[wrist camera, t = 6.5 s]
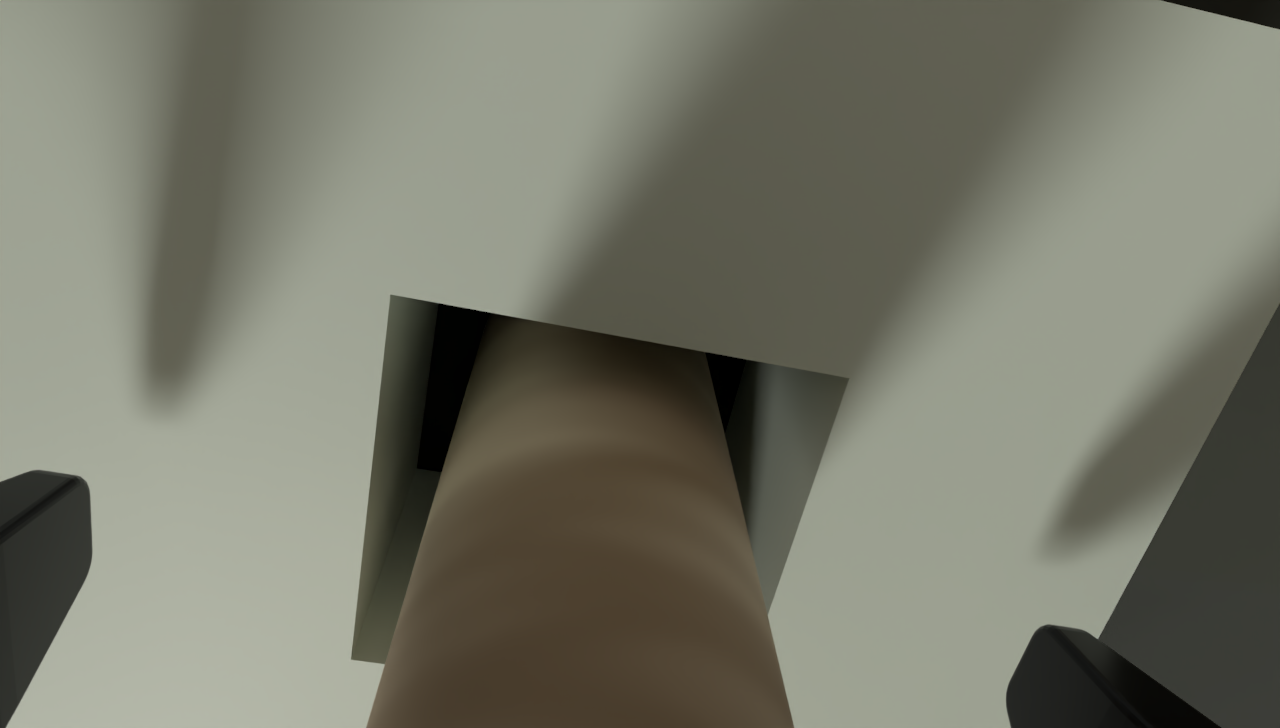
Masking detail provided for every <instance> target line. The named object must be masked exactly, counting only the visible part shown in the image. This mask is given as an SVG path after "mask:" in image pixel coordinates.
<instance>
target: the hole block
mask: <svg viewBox="0 0 1280 728" xmlns="http://www.w3.org/2000/svg"><path fill="white" fill-rule="evenodd" d="M439 303H440V304H446V305H451V306H457V307H462V308H468V309H473V310H478V311H484V312H489V313H495V314H500V315H506V316H511V317H517V318H522V319H528V320H533V321H539V322H544V323H550V324H555V325H561V326H566V327H572V328H577V329H583V330H588V331H593V332H599V333H604V334H610V335H615V336H621V337H626V338H632V339H637V340H643V341H648V342H654V343H659V344H665V345H670V346H676V347H681V348H687V349H692V350H698V351H703V352H708V353H714V354H719V355H725V356H730V357H736V358H741V359H747V360H746V363H745V366H744V370H743V373H742V377H741V380H740V384H739V387H738V391H737V394H736V398H735V401H734V404H733V408H732V411H731V415H730V418H729V422H728V425H727V429H726V432H725V438H726V442H727V446H728V451H729V455H730V459H731V463H732V467H733V472H734V476H735V480H736V484H737V488H738V493H739V497H740V501H741V505H742V510H743V514H744V518H745V522H746V526H747V531H748V535H749V539H750V543H751V547H752V552H753V556H754V560H755V564H756V569H757V573H758V577H759V581H760V585H761V590H762V594H763V598H764V602H765V606H766V611H767V615H768V619H769V623H770V628H771V632H772V636H773V640H774V644H775V649H776V653H777V657H778V661H779V665H780V670H781V674H782V678H783V682H784V687H785V691H786V695H787V699H788V703H789V708H790V712H791V716H792V720H793V725H794V728H1011V726H1010V722H1009V718H1008V714H1007V709H1006V692H1007V687H1008V684H1009V681H1010V679H1011V677H1012V675H1013V673H1014V671H1015V669H1016V667H1017V665H1018V663H1019V661H1020V659H1021V657H1022V655H1023V653H1024V651H1025V649H1026V647H1027V645H1028V643H1029V641H1030V639H1031V637H1032V635H1033V634H1034V632H1035V631H1036V630H1037V629H1038V628H1039V627H1041V626H1043V625H1047V624H1052V625H1058V626H1065V627H1072V628H1078V629H1082V630H1084V631H1087V632H1088V633H1090V634H1091V635H1093V636H1094V637H1095V638H1097V639H1098V638H1099V636H1100V634H1101V632H1102V630H1103V629H1104V627H1105V625H1106V623H1107V621H1108V619H1109V618H1110V616H1111V614H1112V612H1113V610H1114V608H1115V606H1116V605H1117V603H1118V601H1119V599H1120V597H1121V595H1122V593H1123V592H1124V590H1125V588H1126V586H1127V584H1128V582H1129V581H1130V579H1131V577H1132V575H1133V573H1134V571H1135V569H1136V568H1137V566H1138V564H1139V562H1140V560H1141V558H1142V557H1143V555H1144V553H1145V551H1146V549H1147V547H1148V545H1149V544H1150V542H1151V540H1152V538H1153V536H1154V534H1155V532H1156V531H1157V529H1158V527H1159V525H1160V523H1161V521H1162V520H1163V518H1164V516H1165V514H1166V512H1167V510H1168V508H1169V507H1170V505H1171V503H1172V501H1173V499H1174V497H1175V495H1176V494H1177V492H1178V490H1179V488H1180V486H1181V484H1182V483H1183V481H1184V479H1185V477H1186V475H1187V473H1188V471H1189V470H1190V468H1191V466H1192V464H1193V462H1194V460H1195V459H1196V457H1197V455H1198V453H1199V451H1200V449H1201V447H1202V446H1203V444H1204V442H1205V440H1206V438H1207V436H1208V434H1209V433H1210V431H1211V429H1212V427H1213V425H1214V423H1215V422H1216V420H1217V418H1218V416H1219V414H1220V412H1221V410H1222V409H1223V407H1224V405H1225V403H1226V401H1227V399H1228V397H1229V396H1230V394H1231V392H1232V390H1233V388H1234V386H1235V385H1236V383H1237V381H1238V379H1239V377H1240V375H1241V373H1242V372H1243V370H1244V368H1245V366H1246V364H1247V362H1248V361H1249V359H1250V357H1251V355H1252V353H1253V351H1254V349H1255V348H1256V346H1257V344H1258V342H1259V340H1260V338H1261V336H1262V335H1263V333H1264V331H1265V329H1266V327H1267V325H1268V324H1269V322H1270V320H1271V318H1272V316H1273V314H1274V312H1275V311H1276V309H1277V307H1278V305H1279V303H1280V30H1279V29H1275V28H1271V27H1267V26H1263V25H1259V24H1255V23H1251V22H1247V21H1242V20H1238V19H1234V18H1230V17H1226V16H1222V15H1218V14H1214V13H1210V12H1206V11H1202V10H1198V9H1194V8H1190V7H1185V6H1181V5H1177V4H1173V3H1169V2H1165V1H1161V0H0V482H1V481H4V480H6V479H9V478H12V477H14V476H17V475H20V474H23V473H25V472H28V471H32V470H45V471H52V472H58V473H65V474H71V475H78V476H81V477H82V478H83V479H84V480H85V481H86V482H87V484H88V486H89V490H90V500H91V524H92V548H93V552H92V562H91V566H90V570H89V573H88V575H87V578H86V580H85V582H84V584H83V586H82V588H81V590H80V591H79V593H78V595H77V597H76V599H75V601H74V603H73V605H72V606H71V608H70V610H69V612H68V614H67V616H66V618H65V619H64V621H63V623H62V625H61V627H60V629H59V631H58V633H57V634H56V636H55V638H54V640H53V642H52V644H51V646H50V648H49V649H48V651H47V653H46V655H45V657H44V659H43V661H42V663H41V664H40V666H39V668H38V670H37V672H36V674H35V676H34V677H33V679H32V681H31V683H30V685H29V687H28V689H27V691H26V692H25V694H24V696H23V698H22V700H21V702H20V704H19V706H18V707H17V709H16V711H15V713H14V714H13V716H12V718H11V720H10V721H9V723H8V725H7V727H6V728H366V727H367V723H368V720H369V716H370V713H371V710H372V706H373V703H374V699H375V696H376V693H377V689H378V686H379V683H380V679H381V676H382V672H383V669H384V666H385V662H386V659H387V655H388V652H389V649H390V645H391V642H392V639H393V635H394V632H395V628H396V625H397V622H398V618H399V615H400V612H401V608H402V605H403V601H404V598H405V595H406V591H407V588H408V584H409V581H410V578H411V574H412V571H413V568H414V564H415V561H416V557H417V554H418V551H419V547H420V544H421V541H422V537H423V534H424V530H425V527H426V524H427V520H428V517H429V513H430V510H431V507H432V503H433V500H434V497H435V493H436V490H437V486H438V483H439V480H440V476H441V473H442V472H437V471H430V470H424V469H418V468H417V463H418V456H419V448H420V441H421V433H422V425H423V418H424V410H425V403H426V395H427V388H428V380H429V372H430V365H431V357H432V350H433V342H434V335H435V327H436V319H437V312H438V304H439Z"/></svg>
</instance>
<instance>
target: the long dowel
mask: <svg viewBox="0 0 1280 728" xmlns="http://www.w3.org/2000/svg"><path fill="white" fill-rule="evenodd" d="M366 728H794V725H793V720H792V716H791V712H790V708H789V703H788V699H787V695H786V691H785V687H784V682H783V678H782V674H781V670H780V665H779V661H778V657H777V653H776V649H775V644H774V640H773V636H772V632H771V628H770V623H769V619H768V615H767V611H766V606H765V602H764V598H763V594H762V590H761V585H760V581H759V577H758V573H757V569H756V564H755V560H754V556H753V552H752V547H751V543H750V539H749V535H748V531H747V526H746V522H745V518H744V514H743V510H742V505H741V501H740V497H739V493H738V488H737V484H736V480H735V476H734V472H733V467H732V463H731V459H730V455H729V451H728V446H727V442H726V438H725V434H724V429H723V425H722V421H721V417H720V413H719V408H718V404H717V400H716V396H715V392H714V387H713V383H712V379H711V375H710V370H709V366H708V362H707V358H706V354H705V352H703V351H698V350H692V349H687V348H681V347H676V346H670V345H665V344H659V343H654V342H648V341H643V340H637V339H632V338H626V337H621V336H615V335H610V334H604V333H599V332H593V331H588V330H583V329H577V328H572V327H566V326H561V325H555V324H550V323H544V322H539V321H533V320H528V319H522V318H517V317H511V316H506V315H500V314H495V313H491V314H490V316H489V318H488V320H487V323H486V325H485V328H484V331H483V334H482V338H481V341H480V344H479V348H478V351H477V355H476V358H475V361H474V365H473V368H472V371H471V375H470V378H469V382H468V385H467V388H466V392H465V395H464V399H463V402H462V405H461V409H460V412H459V415H458V419H457V422H456V426H455V429H454V432H453V436H452V439H451V442H450V446H449V449H448V453H447V456H446V459H445V463H444V466H443V470H442V473H441V476H440V480H439V483H438V486H437V490H436V493H435V497H434V500H433V503H432V507H431V510H430V513H429V517H428V520H427V524H426V527H425V530H424V534H423V537H422V541H421V544H420V547H419V551H418V554H417V557H416V561H415V564H414V568H413V571H412V574H411V578H410V581H409V584H408V588H407V591H406V595H405V598H404V601H403V605H402V608H401V612H400V615H399V618H398V622H397V625H396V628H395V632H394V635H393V639H392V642H391V645H390V649H389V652H388V655H387V659H386V662H385V666H384V669H383V672H382V676H381V679H380V683H379V686H378V689H377V693H376V696H375V699H374V703H373V706H372V710H371V713H370V716H369V720H368V723H367V727H366Z"/></svg>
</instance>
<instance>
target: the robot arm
mask: <svg viewBox="0 0 1280 728" xmlns="http://www.w3.org/2000/svg"><path fill="white" fill-rule="evenodd" d="M92 552H93V548H92V524H91V500H90V490H89V486H88V484H87V482H86V481H85V480H84V479H83V478H82V477H81V476H78V475H71V474H65V473H58V472H52V471H45V470H32V471H28V472H25V473H23V474H20V475H17V476H14V477H12V478H9V479H6V480H4V481H1V482H0V728H6V727H7V725H8V723H9V721H10V720H11V718H12V716H13V714H14V713H15V711H16V709H17V707H18V706H19V704H20V702H21V700H22V698H23V696H24V694H25V692H26V691H27V689H28V687H29V685H30V683H31V681H32V679H33V677H34V676H35V674H36V672H37V670H38V668H39V666H40V664H41V663H42V661H43V659H44V657H45V655H46V653H47V651H48V649H49V648H50V646H51V644H52V642H53V640H54V638H55V636H56V634H57V633H58V631H59V629H60V627H61V625H62V623H63V621H64V619H65V618H66V616H67V614H68V612H69V610H70V608H71V606H72V605H73V603H74V601H75V599H76V597H77V595H78V593H79V591H80V590H81V588H82V586H83V584H84V582H85V580H86V578H87V575H88V573H89V570H90V566H91V562H92ZM1006 709H1007V714H1008V718H1009V722H1010V726H1011V728H1221V727H1220V726H1218V725H1217V724H1215V723H1214V722H1213V721H1211V720H1210V719H1208V718H1207V717H1206V716H1204V715H1203V714H1202V713H1200V712H1199V711H1197V710H1196V709H1195V708H1193V707H1192V706H1190V705H1189V704H1188V703H1186V702H1185V701H1183V700H1182V699H1181V698H1179V697H1178V696H1176V695H1175V694H1174V693H1172V692H1171V691H1169V690H1168V689H1167V688H1165V687H1164V686H1162V685H1161V684H1160V683H1158V682H1157V681H1155V680H1154V679H1153V678H1151V677H1150V676H1148V675H1147V674H1146V673H1144V672H1143V671H1141V670H1140V669H1139V668H1137V667H1136V666H1135V665H1133V664H1132V663H1130V662H1129V661H1128V660H1126V659H1125V658H1123V657H1122V656H1121V655H1119V654H1118V653H1116V652H1115V651H1114V650H1112V649H1111V648H1109V647H1108V646H1107V645H1105V644H1104V643H1102V642H1101V641H1100V640H1098V639H1097V638H1095V637H1094V636H1093V635H1091V634H1090V633H1088V632H1087V631H1084V630H1082V629H1078V628H1072V627H1065V626H1058V625H1052V624H1047V625H1043V626H1041V627H1039V628H1038V629H1037V630H1036V631H1035V632H1034V634H1033V635H1032V637H1031V639H1030V641H1029V643H1028V645H1027V647H1026V649H1025V651H1024V653H1023V655H1022V657H1021V659H1020V661H1019V663H1018V665H1017V667H1016V669H1015V671H1014V673H1013V675H1012V677H1011V679H1010V681H1009V684H1008V687H1007V692H1006Z"/></svg>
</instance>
